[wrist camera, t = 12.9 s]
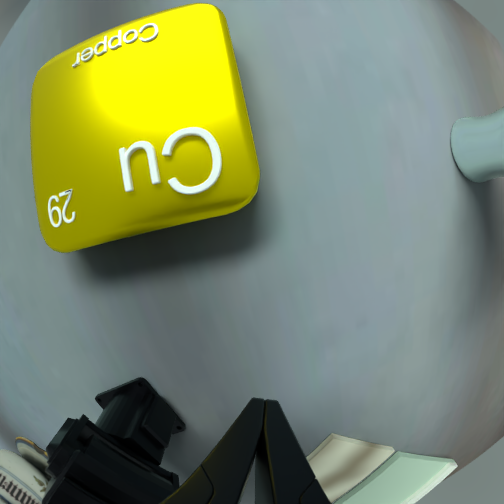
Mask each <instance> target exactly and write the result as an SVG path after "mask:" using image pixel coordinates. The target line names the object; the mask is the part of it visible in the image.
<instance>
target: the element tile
mask: <svg viewBox="0 0 504 504" xmlns="http://www.w3.org/2000/svg"><path fill="white" fill-rule="evenodd" d="M30 137H31V161H32V174H33V184H34V193H35V201H36V208H37V214H38V220H39V226H40V231H41V234H42V236H43V238H44V240H45V242H46V244H47V245H48V246H49V247H50V248H51V249H53V250H54V251H58V252H61V253H69V252H73V251H77V250H80V249H84V248H88V247H92V246H95V245H99V244H103V243H107V242H111V241H115V240H119V239H123V238H127V237H131V236H135V235H139V234H143V233H147V232H151V231H155V230H160V229H164V228H168V227H173V226H177V225H182V224H186V223H190V222H195V221H200V220H204V219H209V218H214V217H218V216H223V215H228V214H230V213H233V212H236V211H238V210H240V209H241V208H243V207H244V206H246V205H247V204H249V203H250V202H251V200H252V199H253V197H254V196H255V194H256V193H257V190H258V185H259V181H260V168H259V163H258V158H257V153H256V149H255V144H254V139H253V134H252V130H251V125H250V120H249V116H248V111H247V107H246V102H245V97H244V93H243V88H242V84H241V80H240V75H239V71H238V67H237V62H236V58H235V54H234V49H233V45H232V41H231V37H230V33H229V28H228V24H227V20H226V18H225V16H224V14H223V12H222V11H221V10H220V9H219V8H218V7H216V6H214V5H211V4H208V3H193V4H187V5H183V6H179V7H175V8H171V9H167V10H164V11H160V12H157V13H154V14H151V15H147V16H144V17H141V18H138V19H136V20H133V21H130V22H127V23H125V24H122V25H119V26H117V27H114V28H112V29H110V30H107V31H105V32H102V33H100V34H98V35H96V36H94V37H91V38H89V39H87V40H85V41H83V42H81V43H79V44H77V45H75V46H73V47H71V48H69V49H67V50H66V51H64V52H62V53H60V54H58V55H57V56H55V57H53V58H52V59H50V60H49V61H48V62H47V63H46V64H45V65H44V66H43V67H42V68H41V69H40V70H39V71H38V73H37V75H36V77H35V80H34V83H33V87H32V93H31V116H30Z"/></svg>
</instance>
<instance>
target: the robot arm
mask: <svg viewBox="0 0 504 504" xmlns="http://www.w3.org/2000/svg"><path fill="white" fill-rule="evenodd" d="M139 382H141V383H142V384H143V385H142V384H140V383H139ZM95 400H96V402H97V403H98V404H99V405H100V406H101V407H102V408H103V412H102V414H101V415H100V417H99V419H98V420H97V422H96V423H95V424H94V423H92V422H91V421H90V420H88V419H89V418H88V417H86V416H85V415H84V414H83V415H82V416H81V417H80V419H79V420H78V419H77V418H76V419H71V418H68V419H67V420H66V422H65V423H64V424H63V426H62V427H61V428H60V430H59V431H58V432H57V434H56V435H55V436H54V438H53V439H52V441H51V442H50V443H49V445H48V446H47V447H46V452H47V456H48V461H47V462H46V463H48V466H47V468H46V470H45V472H46V473H47V474H49V475H50V476H51V477H52V478H51V480H50V481H49V483H48V485H47V488H46V491H45V493H44V496H43V499H42V504H240V502H241V499H242V496H243V493H244V490H245V487H246V484H247V481H248V478H249V475H250V471H251V468H252V465H253V462H254V458H255V504H332V503H331V502H330V500H329V499H328V497H327V495H326V494H325V492H324V490H323V489H322V487H321V485H320V483H319V481H318V479H315V478H316V476H315V474H314V472H313V470H312V468H311V466H310V464H309V462H308V460H307V458H306V456H305V455H304V453H303V451H302V449H301V447H300V445H299V443H298V441H297V439H296V437H295V435H294V433H293V431H292V429H291V427H290V425H289V422H288V420H287V418H286V416H285V414H284V412H283V410H282V408H281V406H280V404H279V402H278V401H277V400H269V399H267V400H264V399H261V398H252V399H251V400H250V401H249V403H248V404H247V405H246V407H245V408H244V410H243V411H242V412H241V414H240V415H239V416H238V418H237V419H236V420H235V422H234V423H233V424H232V426H231V427H230V428H229V430H228V431H227V432H226V433H225V435H224V436H223V437H222V439H221V440H220V441H219V442H218V444H217V445H216V446H215V447H214V449H213V450H212V451H211V452H210V454H209V455H208V456H207V457H206V459H205V460H204V461H203V462H202V463H201V466H199V467H198V468H197V469H196V470H195V471H194V473H193V474H192V475H191V476H190V477H189V478H188V479H187V480H186V481H185V482H184V483H183V484H182V485H181V486H180V487H179V478H178V475H177V474H175V473H173V472H169V471H167V470H165V469H163V468H161V467H159V465H160V464H161V461H162V457H163V454H164V450H165V448H167V447H168V444H169V441H170V437H171V434H175V433H178V432H181V431H184V429H185V424H184V423H183V422H182V421H181V420H180V419H179V418H178V417H177V415H176V414H175V413H174V412H173V411H172V410H171V409H170V407H169V406H168V405H167V404H166V403H165V402H164V401H163V399H162V398H161V397H160V396H159V395H158V394H157V393H156V392H155V391H154V389H153V388H152V387H151V386H150V385H149V383H148V382H147V381H146V380H145V379H144V378H141V377H139V378H136V379H134V380H132V381H129V382H127V383H125V384H122V385H120V386H117V387H115V388H112V389H110V390H107V391H105V392H102V393H100V394H98V395H97V396H96V397H95ZM179 426H180V427H179ZM255 455H256V457H255Z"/></svg>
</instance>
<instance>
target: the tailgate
mask: <svg viewBox="0 0 504 504" xmlns="http://www.w3.org/2000/svg"><path fill="white" fill-rule="evenodd" d="M457 466H458V465H457V464H456V463H455V461H454V460H453V459H447V458H438V457H430V456H423V455H416V454H410V453H404V452H399V451H397V452H396V453H395V454H394V455H393V456H392V457H391V458H390V459H388V460H387V461H386V462H385V463H384V464H383V465H382V466H381V467H379V468H378V469H377V470H376V471H375V472H374V473H372V474H371V475H370V476H369V477H368V478H366V479H365V480H364V481H363V482H361V483H360V484H359V485H358V486H356V487H355V488H354V489H352V490H351V491H350V492H348V493H347V494H346V495H344V496H343V497H342V498H340V499H339V500H337V501H336V502H334V504H414V503H415V502H417V501H418V500H419V499H421V498H422V497H423V496H424V495H426V494H427V493H428V492H429V491H431V490H432V489H433V488H434V487H435V486H436V485H438V484H439V483H440V482H441V481H442V480H443V479H444V478H445V477H447V476H448V475H449V474H450V473H451V472H452V471H453V470H454V469H455V468H456V467H457Z"/></svg>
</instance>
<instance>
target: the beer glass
mask: <svg viewBox="0 0 504 504" xmlns="http://www.w3.org/2000/svg"><path fill="white" fill-rule="evenodd" d="M451 148H452V153H453V156H454V159H455V162H456V164H457V166H458V168H459V169H460V171H461V172H462V174H463V175H464V176H465V177H466V178H468V179H469V180H471V181H473V182H477V183H479V182H484V181H488V180H491V179H494V178H498V177H504V107H502V108H500V109H499V110H497V111H495V112H493V113H491V114H489V115H486V116H481V117H463V118H460V119H458V120H457V121H456V122H455V123H454V125H453V127H452V131H451Z"/></svg>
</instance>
